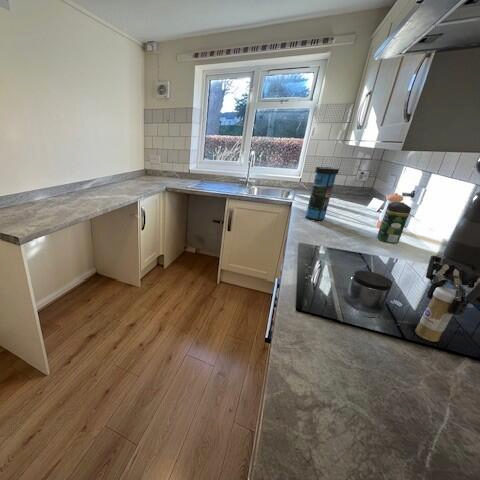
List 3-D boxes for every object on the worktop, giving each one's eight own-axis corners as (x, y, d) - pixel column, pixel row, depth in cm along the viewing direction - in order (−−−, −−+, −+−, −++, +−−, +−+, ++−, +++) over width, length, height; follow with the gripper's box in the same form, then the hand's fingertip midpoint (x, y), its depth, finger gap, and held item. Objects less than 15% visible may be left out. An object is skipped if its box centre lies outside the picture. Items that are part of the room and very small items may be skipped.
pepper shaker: (385, 229, 140) (398, 195, 133) (372, 225, 146) (384, 192, 139) (395, 229, 141) (409, 194, 134) (382, 224, 148) (394, 191, 141)
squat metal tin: (369, 300, 80) (380, 271, 76) (388, 319, 71) (402, 288, 67) (337, 297, 81) (346, 268, 77) (352, 316, 73) (364, 285, 69)
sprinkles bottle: (409, 329, 68) (430, 286, 63) (426, 329, 68) (449, 286, 63) (425, 342, 64) (450, 297, 58) (444, 343, 64) (470, 297, 58)
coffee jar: (374, 235, 132) (387, 199, 125) (394, 238, 128) (408, 201, 121) (378, 241, 124) (392, 204, 117) (399, 245, 121) (415, 206, 113)
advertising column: (327, 218, 157) (341, 168, 145) (322, 223, 149) (336, 169, 138) (307, 215, 164) (319, 166, 152) (301, 218, 156) (313, 167, 145)
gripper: (536, 256, 49) (490, 328, 55) (465, 230, 62) (435, 290, 68) (490, 253, 50) (450, 324, 56) (429, 228, 63) (403, 288, 69)
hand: (442, 305), depth 62 cm, fingers open, 5 cm apart
